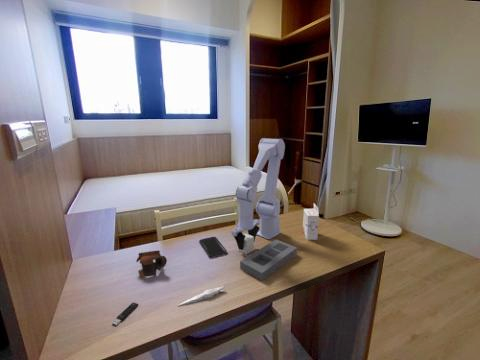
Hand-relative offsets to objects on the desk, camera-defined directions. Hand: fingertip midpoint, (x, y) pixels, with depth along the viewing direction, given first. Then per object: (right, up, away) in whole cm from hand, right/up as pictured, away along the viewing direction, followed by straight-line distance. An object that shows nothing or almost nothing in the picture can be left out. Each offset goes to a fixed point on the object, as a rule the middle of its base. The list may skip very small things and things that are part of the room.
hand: (246, 245), depth 100 cm
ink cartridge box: (+29, +1, +12) cm, 32 cm away
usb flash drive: (-35, -11, -32) cm, 48 cm away
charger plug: (0, -2, +1) cm, 2 cm away
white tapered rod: (-14, -9, -26) cm, 31 cm away
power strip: (+9, -4, -8) cm, 12 cm away
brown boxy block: (-34, -6, -12) cm, 36 cm away
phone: (-14, -2, +3) cm, 15 cm away
